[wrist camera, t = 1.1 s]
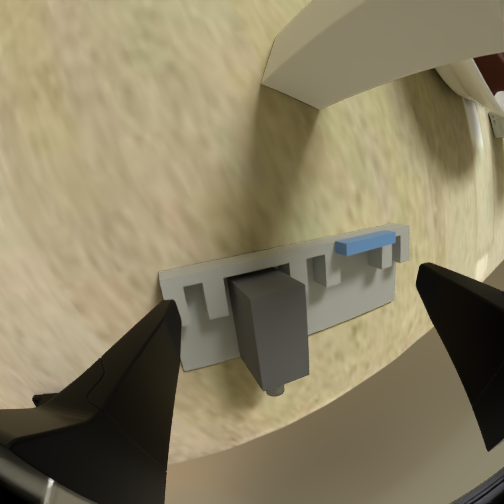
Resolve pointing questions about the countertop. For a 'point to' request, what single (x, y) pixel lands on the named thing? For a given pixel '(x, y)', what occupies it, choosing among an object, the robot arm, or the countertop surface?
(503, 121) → the skincare box
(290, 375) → the dark grey knobbed block
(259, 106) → the countertop surface
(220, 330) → the grey toothed rack
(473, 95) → the white bowl
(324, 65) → the milk
